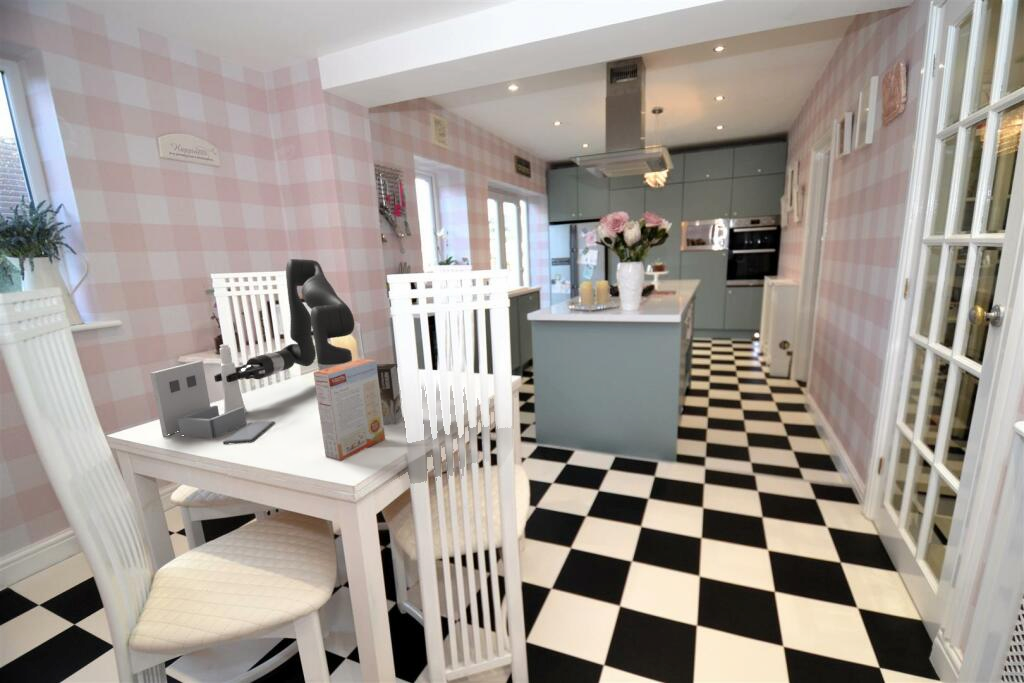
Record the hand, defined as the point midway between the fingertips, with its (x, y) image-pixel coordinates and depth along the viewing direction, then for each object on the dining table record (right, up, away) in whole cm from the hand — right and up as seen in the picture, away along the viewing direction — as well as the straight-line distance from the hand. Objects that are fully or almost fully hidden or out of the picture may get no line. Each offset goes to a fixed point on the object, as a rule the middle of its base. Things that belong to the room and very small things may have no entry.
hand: (221, 378), depth 136 cm
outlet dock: (+1, -14, -7) cm, 15 cm away
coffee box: (+52, -12, -8) cm, 54 cm away
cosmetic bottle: (+1, -11, +5) cm, 13 cm away
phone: (+16, -14, -12) cm, 25 cm away
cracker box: (+50, -15, -26) cm, 58 cm away
